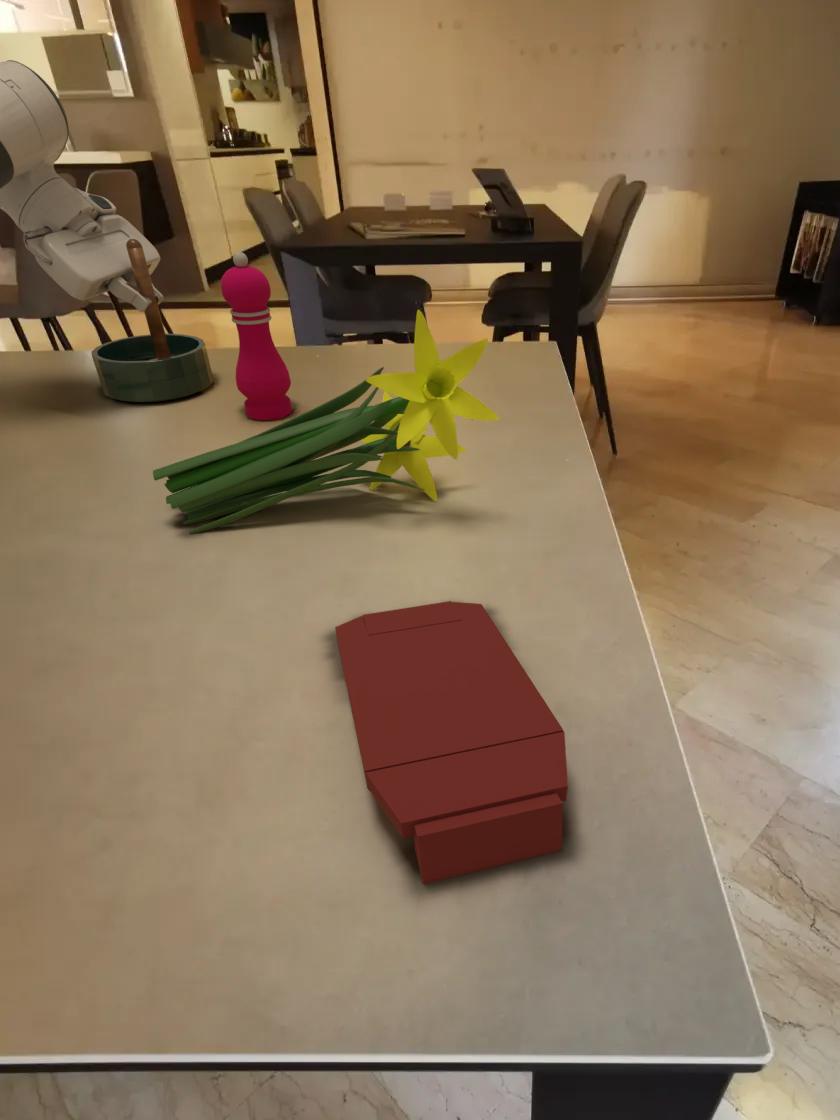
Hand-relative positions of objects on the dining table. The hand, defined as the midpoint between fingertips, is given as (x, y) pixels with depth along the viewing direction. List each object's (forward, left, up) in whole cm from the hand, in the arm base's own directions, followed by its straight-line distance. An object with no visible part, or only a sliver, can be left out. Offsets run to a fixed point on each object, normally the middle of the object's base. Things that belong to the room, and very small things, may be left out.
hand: (153, 305), depth 99 cm
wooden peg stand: (0, 0, -10) cm, 10 cm away
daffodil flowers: (+47, -21, -12) cm, 52 cm away
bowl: (-2, -1, -12) cm, 12 cm away
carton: (+74, -42, -12) cm, 86 cm away
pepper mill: (+20, -1, -12) cm, 23 cm away
